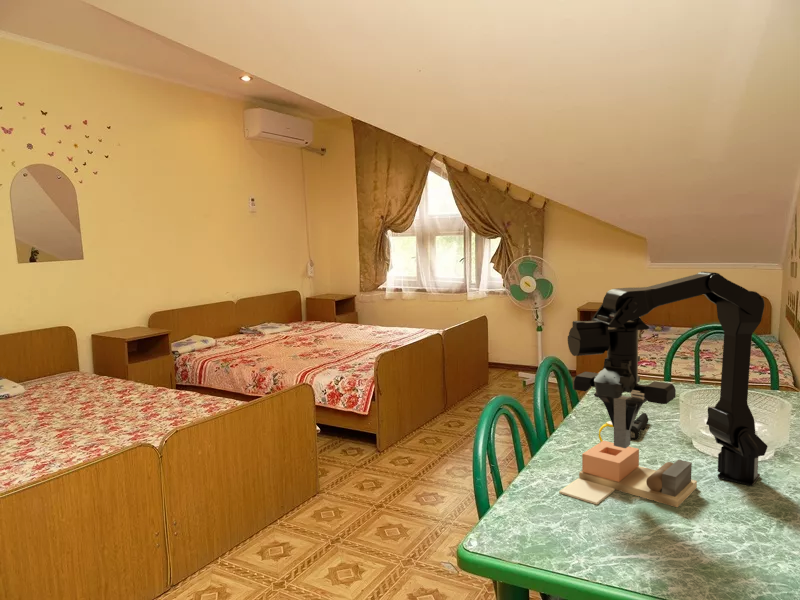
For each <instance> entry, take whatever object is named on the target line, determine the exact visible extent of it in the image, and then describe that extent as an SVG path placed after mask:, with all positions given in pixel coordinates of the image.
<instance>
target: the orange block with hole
mask: <svg viewBox="0 0 800 600" xmlns="http://www.w3.org/2000/svg"><path fill="white" fill-rule="evenodd" d="M581 458H582V461H581V462H582V463H581V464H582V467H581V469H582V470H581V471H582V472H585V473H589V474H592V475H596V476H599V477H603V478H607V479H610V480H614V481H617V482H620V481H621V480H622V479H624V478H625V477H626V476H627V475H629V474H630V473H631V472H633V471H634V470H635V469H636V468H638V467H639V466H640V449H639V448H637V447H632V446H630V445H629V446H628V447H627V448H622V447H617V446H614V442H612V441H607V440H603V441H602V442H601V441H600V442H599V443H597V444H595V445H594V446H592V447H591V448H589V449H587V450H586V451H584V452H583V453H582V457H581Z"/></svg>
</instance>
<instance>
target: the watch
mask: <svg viewBox="0 0 800 600" xmlns="http://www.w3.org/2000/svg"><path fill="white" fill-rule="evenodd" d="M607 427H610V428H614V427H613V424H612V422H611V420H609V421H606V422H605V423H604V424H602V425H601V426H600V427H599V430H598V439H599V441H600V442H602V441H604V440H603V438H602V436H601V432H602V431H603V429H604V428H607Z"/></svg>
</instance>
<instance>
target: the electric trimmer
mask: <svg viewBox="0 0 800 600" xmlns="http://www.w3.org/2000/svg"><path fill="white" fill-rule="evenodd" d="M648 424H649V417H648V414H647V413H646V412H643V413H641V414H640V415H639V416H638V417H637V418H635V421H634V423H633V425H632V427H631V429H630V441H637V440H639V438H640V433H641V432H642V431H645V430H646V428H647V426H648Z"/></svg>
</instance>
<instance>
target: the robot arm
mask: <svg viewBox="0 0 800 600" xmlns="http://www.w3.org/2000/svg"><path fill="white" fill-rule="evenodd" d="M702 295H704V297H706V299H707V300H708V301H710V302H711V303H713V304H714V305H716V314H717V319H718V321H719V324H720V326H721V328H722V330H723V346H722V347H723V348H722V361H721V362H722V364H721V376H720V377H721V378H720V379H721V380H720V393H719V394H720V395H719V400H718V402H717V403H716V404H715V406H708V407H707V421H706V423H705V425H706V426H708V430H709V432H710V434H712V436H713V437H714V440H715V443H717V444H719V445H721V447H720V449H721V450H720V452H718V453H717V472H718V473H719V474H717V478H718V479H721V480H725V481H730V482H732V483H733V482H734V483H737V484H742V485H746V486H749V487H752V486H754V485H755V483H756V482H757V481H758V480H759V478H760V477H761V474H760V473H759V457H764V456H765V455H766V452H767V450H768V445H767V444H766V443H765V442H764V440H762V439H761V438H760V437H759V436H758V435H757V434H756V424H755V422H756V421H755V418H754V416H753V413H752V411H751V409H750V407H749V404H748V398H749V397H748V396H749V383H750V382H749V381H750V370H751V368H750V367H751V354H752V353H751V351H752V340H753V334H754V332H755V331H756V329H758V327H759V325H760V324H761V323H762V319H763V315H764V311H765V306H766V305H765V299H764V297H762V295H761V294H760V293H758V292H757V291H754V290H753V291H752V290H749V289H747V288H745V287H743V286H742V285H738V284H736V283H734V282H733V281H731V280H728V279H727V278H726V277H724V276H723V275H721V274H720V273H718V272H713V271H699V272H697V273H695V274H691V275H688V276H685V277H681V278H677V279H674V280H668V281H664V282H661V283H656V284H653V285H650V286H643V287H640V286H638V287H621V288H620V287H618V288H612V289H610V290H608V291H607V292H606V293H605V295H604V297H603V299H602V303H601V305H600V306H599V308H598V309H597V311H596V312H595V314H594V315H593V316H592V318H591V320H588V321H587V320H584V321H583V320H582V321H581V320H573V321H572V327H571V328H570V330H569V332H568V336H567V345H568V346H567V347H568V350H569V352H570V354H571V355H572V356H574V357H577V356H578V357H579V356H581V357H582V356H593V355H596V356H597V355H603V354H605V353H606V356H607V357H605V358H604V361H603V367H602V370H600V371H599V372H598V373H597V372H591V371H584V372H582V373H579V374H577V375H576V376H574V377H573V380H572V390H574V391H579V392H588V391H589V390H590V389H591V388H592V387H593V388H595V393H594V394H593V396H594V397H595V398H598V399H600V401H602V402H603V404H604V406H605V408H606V412H607V414H608V416H609V418H610V421H611V422H612V424H613V427H612V428H614V398H620V397H621V396H623V393H629V394H630V396H629V397H630V398H628V399H627V400H626V402H627V405H628V411H627V430H630V429H631V427H632V425H633V423H634V421H635V420H636V419H637V418H636V417H637V415H638V413H639V412H640V410H641V408H642V406H643V404H644V403H646V402H648V403H655V404H659V405H667V404H668V403H670V402H672V400H674V399H675V398H676V387H675V386H674V384H673V383H670V382H662V381H655V380H653V381H652V382H650V383H649V384H647V385H646V384H640V383H639V382H640V381H641V380H640V379H641V376H640V375H638V374H639V373H638V372H639V371H638V370H639V369H638V367H639V362H641V355H639V331H644V330H645V331H646V330H649V329H650V327H649V325H648V324H646V323H645V322H644V321H643V319H642V318H641V317H643V316H645V315H647V314H648V315H649V313H650V312H651V311H653V310H655V309H656V308H659V307H660V306H664V305H668V304H672V303H675V302H676V303H677V302H680V301H684V300H687V299H692V298H695V297H699V296H702ZM638 383H639V384H638Z"/></svg>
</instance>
